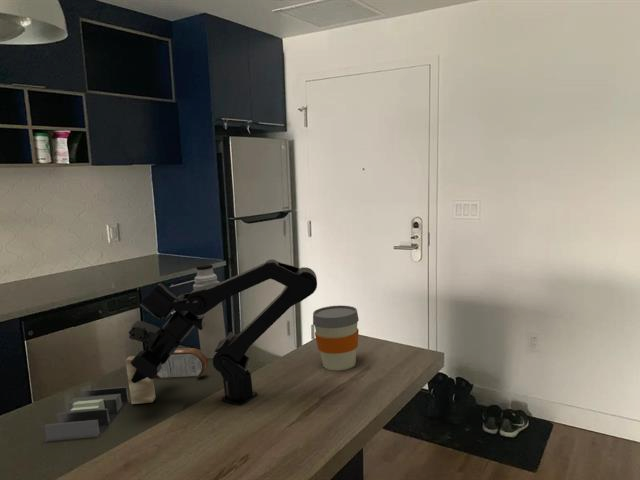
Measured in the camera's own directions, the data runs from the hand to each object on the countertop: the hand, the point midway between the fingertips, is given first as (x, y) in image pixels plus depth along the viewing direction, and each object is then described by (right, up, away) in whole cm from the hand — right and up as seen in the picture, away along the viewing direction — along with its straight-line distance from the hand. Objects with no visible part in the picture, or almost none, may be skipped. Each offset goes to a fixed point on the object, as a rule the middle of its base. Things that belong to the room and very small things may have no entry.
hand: (135, 379), depth 120 cm
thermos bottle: (+12, -2, +35) cm, 37 cm away
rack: (-8, -8, -6) cm, 13 cm away
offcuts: (-8, -8, -6) cm, 13 cm away
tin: (+7, -5, +17) cm, 19 cm away
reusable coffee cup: (+50, -1, +18) cm, 53 cm away
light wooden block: (+2, -5, +1) cm, 6 cm away
